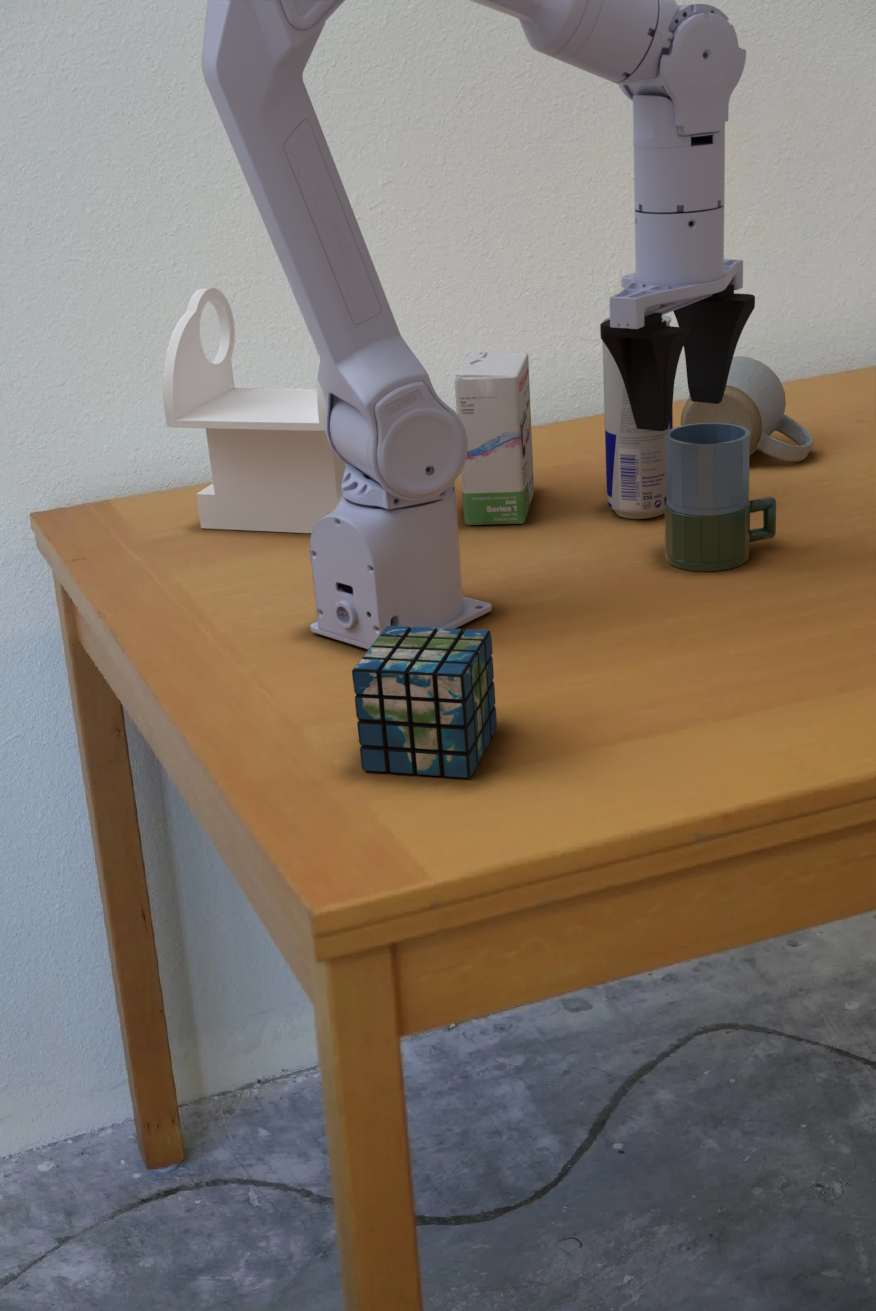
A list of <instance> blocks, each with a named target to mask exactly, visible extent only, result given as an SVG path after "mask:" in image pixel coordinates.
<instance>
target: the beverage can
mask: <svg viewBox="0 0 876 1311" xmlns="http://www.w3.org/2000/svg"><path fill="white" fill-rule="evenodd" d="M608 320H610V317H606V318H605V319H603V321H602V322H601V323H603V322H605V321H608ZM664 321H666V326H671V322H672V318H671V317H670V316H669V315H667V314H664V315H662V322H664ZM601 341H602V373H603V374H602V375H603V377H602V378H603V408H604V409H603V410H604V442H605V444H604V445H605V448H604V449H605V478H606V479H605V480H606V502H607V505H608V507H609V508H610V509H611V510H613V511H614V512H615V513H616V515H617V516H619V517H621V518H624V519H631V520H644V519H645V520H646V519H651V518H657V517H659V516H661V515H663V514H665V508H664V503H665V502H666V501H667V499H666V433H667V432H668V431H669V430H671V429H673V428H674V423H673V422H674V421H673V420H674V419H673V416H674V415H673V411H674V410H673V408H674V407H673V405H672V414H671V419H670V423H669V427H668V429H667V430H665V431H653V430H644V429H637V427H636V424H635V420H634V417H633V413H632V410H631V406H630V402H629V398H628V395H627V391H626V388H625V385H624V382H623V379H622V376H621V373H620V371H619V369H618V366H617V364H616V362H615V360H614V358H613V356H612V355H611V353H610V351H609V349H608V348H607V346H606V345H605V343H604V342H603V340H602V339H601Z"/></svg>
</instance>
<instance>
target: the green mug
mask: <svg viewBox="0 0 876 1311" xmlns="http://www.w3.org/2000/svg"><path fill="white" fill-rule="evenodd" d="M664 508H665V512H664V551H665V552H664V553H665V556H664V558H665V561H666V562H667V563H668V564H669V565H671V566H673V567H675V568H678V569H681V570H684V571H685V570H686V571H693V572H720V571H725V570H731V569H735V568H737V567H740V566H742V565H744V564H745V563H746V562H747V561H748V560H749V558H750V545H751V544H750V543H756V542H760V541H766V540H771V539H773V538H775V537H776V534H777V500H776V498H775V497H773V496H765V497H761V498H755V499H749V503H748V505H747V507H745V508H744V509H742V510H740V511H737V512H734V513H730V514H725V515H717V516H694V515H687V514H682V513H678V512H675V511H673V510H671V509H670V508H669V507H668V506H667V501H666V502H665V503H664ZM759 512H762V527H757V528H752V529H751V514H753V513H759Z"/></svg>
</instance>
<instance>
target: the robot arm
mask: <svg viewBox="0 0 876 1311" xmlns="http://www.w3.org/2000/svg"><path fill="white" fill-rule="evenodd" d="M345 1H346V0H206V10H205V20H204V30H203V37H202V38H203V39H202V49H201V64H200V66H201V70H202V74H203V80H204V83H205V84H206V87H207V89H208V92H209V94H210V97H211V99H212V101H213V104H214V106H215V108H216V111H217V114H218V115H219V116H218V117H219V119H220V120H221V123H222V126H223V128H224V130H225V133H226V135H227V137H228V138H227V139H228V140H229V142H230V145H231V147H232V150H233V152H234V155H235V157H236V159H237V161H238V165H239V166H240V168H241V171H242V174H243V176H244V178H245V181H246V183H247V185H248V188H249V190H250V193H251V195H252V197H253V201H254V202H255V205H256V207H257V210H258V213H259V214H260V217H261V219H262V222H263V224H264V227H265V229H266V231H267V234H268V236H269V238H270V241H271V243H272V246H273V249H274V251H275V253H276V255H277V257H278V261H279V262H280V265H281V268H282V270H283V272H284V274H285V277H286V279H287V281H288V284H289V287H290V289H291V292H292V294H293V296H294V299H295V301H296V304H297V306H298V309H299V310H300V313H301V317H302V318H303V321H304V323H305V326H306V327H307V329H308V332H309V335H310V337H311V340H312V342H313V344H314V347H315V349H316V352H317V355H318V357H319V360H320V364H319V363H318V367H319V369H317V379H318V381H319V384H320V386H321V389H322V391H323V394H324V398H325V405H326V410H325V433H326V437H327V440H328V443H329V445H330V447H331V448H332V450H333V452H334V453H335V454H336V455H337V456H338V457H339V458H340V459H341V460H343V461H344V462H345V465H346V469H345V473H344V476H343V480H342V485H341V486H342V495H343V496H342V498H341V500H340V502H339V504H338V506H337V507H336V508H335V509H334V510H333V511H332V512H331V513H330V514H328V515H327V516H325V517H323V518H322V519H321V520H319V521H318V522H317V523H316V525H315V526H314V528H313V531H312V533H310V539H309V555H310V556H309V557H310V565H311V573H312V574H311V575H312V581H313V582H312V583H313V591H314V600H315V609H316V616H317V621H315V622H313V623H310V626H309V628H310V632H311V633H313V634H317V635H320V636H322V637H323V636H324V637H327V638H331V639H333V640H336V641H339V642H343V643H346V644H349V645H353V646H355V647H359V648H362V649H365V650H367V651H368V650H369V648H370V647H371V646H372V645H373V643H374V642H375V641H376V639H377V638H378V637H379V636H380V634H381V633H382V632H383V631H384V629H385V628H386V627H387V626H405V627H411V629H412V628H413V627H429V628H437V631H438V629H439V628H452V629H458V628H459V627H462V626H463V625H466V624H468V623H470V622H472V621H474V620H475V619H478V618H481V617H482V616H483V615H486V614H488V613H490V612H491V611H492V610H493V608H492V607H493V606H492V603H490V602H488V601H483V600H480V599H476V598H473V597H468V596H465V595H464V594H463V592H464V591H463V580H462V578H463V577H462V566H461V565H462V564H461V550H460V536H459V524H458V522H459V521H458V506H457V494H456V493H457V492H456V481H457V479H459V476H461V471H462V469H463V467H464V464H465V461H466V457H467V451H468V439H467V434H466V430H465V428H464V425H463V423H462V421H461V419H460V418H459V416H458V415H457V412H456V411H455V410H454V409H453V408H451V406H449V405H448V404H446V402H444V401H443V400H442V399H441V397H440V396H439V395H438V393H437V392H436V390H435V388H434V386H433V383H432V381H431V379H430V376H429V373H428V371H427V370H426V369H425V367H424V365H422V363H421V361H420V360H419V359H418V357H417V356H416V354H415V353H414V352H413V351H412V350H411V348H410V347H409V345H408V344H407V342H406V341H405V339H404V338H403V336H402V335H401V333H400V329H399V327H398V325H397V322H396V319H395V316H394V313H393V311H392V308H391V307H390V303H389V301H388V299H387V295H386V294H385V290H384V288H383V285H382V282H381V280H380V278H379V275H378V271H377V269H376V266H375V264H374V262H373V260H372V256H371V254H370V251H369V249H368V246H367V244H366V241H365V238H364V236H363V233H362V230H361V228H360V225H359V222H358V220H357V218H356V214H355V212H354V209H353V208H352V204H351V202H350V200H349V197H348V194H347V192H346V189H345V186H344V184H343V181H342V179H341V176H340V173H339V171H338V170H339V169H338V168H337V165H336V163H335V160H334V158H333V156H332V152H331V150H330V147H329V145H328V142H327V139H326V137H325V134H324V132H323V129H322V126H321V124H320V121H319V118H318V116H317V112H316V110H315V108H314V106H313V102H312V101H311V98H310V94H309V93H308V90H307V88H306V85H305V83H304V78H303V77H304V71H305V69H306V66H307V64H308V62H309V60H310V58H311V55H312V54H313V51H314V49H315V47H316V45H317V42H318V40H319V38H320V36H321V33H322V32H323V29H324V27H325V25H326V22H327V20H328V19H329V18H330V17H331V16H332V15H333V14H334V13H335V12H336V11H337V10H338V9H339V8H340V7H341V5H342V4H343V3H344V2H345ZM469 2H473V3H475V4H478V5H481V6H484V7H486V8H489V9H492V10H494V11H496V12H500V13H502V14H505V15H508V16H510V17H513V18H516V19H518V21H519V23H520V26H521V28H522V30H523V33H524V36H525V38H526V40H527V42H528V44H529V46H530V47H531V48H532V50H534V51H536V52H538V53H540V54H543V55H545V56H547V57H550V58H552V59H556V60H557V61H560V62H563V63H565V64H567V65H570V66H573V67H575V68H577V69H580V70H582V71H584V72H587V73H589V74H592V75H594V76H596V77H599V78H602V79H604V80H607V81H609V82H611V83H614V84H616V85H618V87H619V89H620V90H621V92H622V93H623V94H624V95H625V96H626V97H627V98H628V99H629V100H631V101H632V136H633V138H632V139H633V141H632V142H633V184H634V185H633V194H634V198H633V199H634V203H633V204H634V210H633V211H634V249H635V250H634V258H635V259H634V263H635V265H634V267H635V269H634V270H635V272H631V273H629V274H626V275H623V276H621V277H620V279H621V280H620V284H621V285H620V286H621V288H623V289H622V290H620V291H619V292H618V293H616V294H614V295H611V296H610V297H609V318H610V320H608V321H605V322H603V321H602V322H603V323H602V322H601V323H600V324H599V328H600V330H599V332H600V339H601V341H602V340H603V342H604V343H605V345H606V346H607V348H608V349H609V351H610V353H611V355H612V356H613V358H614V360H615V362H616V364H617V366H618V369H619V371H620V373H621V376H622V379H623V382H624V385H625V388H626V391H627V395H628V398H629V402H630V406H631V410H632V413H633V417H634V420H635V424H636V427H637V429H644V430H653V431H665V430H667V429H668V427H669V423H670V419H671V414H672V405H673V404H674V403H673V402H674V393H675V391H674V390H675V381H676V374H677V370H678V366H679V361H680V358H681V355H682V352H683V350H684V359H685V371H686V380H687V388H688V395H689V394H690V397H691V401H693V402H703V403H713V404H718V403H720V402H722V399H723V395H724V392H725V388H726V384H727V380H728V375H729V371H730V367H731V363H732V359H733V357H734V355H735V352H736V348H737V346H738V342H739V340H740V338H741V335H742V332H743V330H744V328H745V326H746V324H747V322H748V320H749V318H750V317H751V315H752V313H753V311H754V310H755V307H756V296H755V295H754V294H751V293H737V292H736V293H735V291H738V290H741V289H743V287H744V260H743V259H735V258H733V259H732V258H725V190H726V189H725V184H726V183H725V182H726V181H725V180H726V178H725V177H726V176H725V175H726V174H725V173H726V172H725V170H726V168H725V167H726V166H725V165H726V161H725V160H726V155H725V154H726V122H729V104H730V99H731V96H732V94H733V92H734V90H735V88H736V87H737V86H738V84H739V82H740V80H741V78H742V75H743V73H744V69H745V65H746V61H747V50H746V49H745V48H742V47H740V45H739V40H738V35H737V32H736V30H735V27H734V25H733V24H731V23H730V22H729V20H730V19H729V17H728V15H726V14H725V13H724V12H723V11H722V10H721V9H719V8H718V7H715V6H714V5H711V4H708V3H692V4H677V2H676V0H469ZM672 312H673V315H674V316H675V319H676V323H677V326H671V325H670V326H666V321H664V322H662V315H667V314H669V313H672Z"/></svg>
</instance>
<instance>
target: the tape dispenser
mask: <svg viewBox="0 0 876 1311" xmlns="http://www.w3.org/2000/svg"><path fill="white" fill-rule="evenodd" d="M208 302H210V303H211V305H212V306H213V307H214V309H215V311H216V314H217V318H218V321H219V322H218V323H219V329H220V330H219V331H220V336H219V337H220V338H219V346H218V351H217V353H216V356H215V358H214V359H213V360H212V361H211V360H210V359H208V356H206V354H205V352H204V348H203V344H202V341H201V319H202V313H203V311H204V308H205V307H206V304H208ZM235 331H236V330H235V320H234V316H233V310H232V308H231V305H230V302H229V300H228V298H227V297H226V295H225V293H223V292H222V291H221V290H220V289H218V288H215V287H202V288H199V289H197V290H195V292H194V293H193V294H192V295H191V298H190V299H189V301H188V304H187V307H186V311H185V312H184V313H183V315H182V316H181V317H180V319H179V320H178V322H176V324H175V327H174V329H173V331H172V333H171V336H170V339H169V342H168V345H167V350H166V353H165V358H164V366H163V376H162V397H163V398H162V399H163V410H164V416H165V423H166V428H174V429H175V428H176V429H178V428H179V429H182V428H183V429H184V428H185V429H205V434H206V442H207V447H208V455H209V456H208V457H209V462H210V471H211V477H212V483H211V484H209V485H207V486H206V487H204V488H203V489H202V490H200V491H198V492H197V493H196V496H195V497H196V503H197V511H198V517H199V524H200V529H208V530H209V529H211V530H230V531H231V530H232V531H253V532H254V531H256V532H274V533H275V532H277V533H296V534H297V533H298V534H300V533H301V534H312V531H313V528H314V526H315V525H316V523H317V522H318V521H319V520H321V519H322V518H323V517H325V516H327V515H328V514H330V513H331V512H332V511H333V510H334V509H335V508H336V507H337V506H338V504H339V502H340V500H341V498H342V496H343V495H342V486H341V485H342V480H343V476H344V473H345V469H346V465H345V462H344V461H343V460H341V459H340V458H339V457H338V456H337V455H336V454H335V453H334V452H333V450H332V448H331V447H330V445H329V443H328V440H327V437H326V433H325V410H326V405H325V398H324V394H323V391H322V389H321V386H320V384H319V381H318V378H317V381H316V382H317V383H316V388H264V387H263V388H260V387H259V388H257V387H256V388H255V387H235V381H234V373H233V366H232V357H233V354H234V349H235V348H234V347H235V338H236V332H235ZM319 364H320V359H319V361H318V365H319ZM318 369H319V366H318ZM318 369H317V370H318Z"/></svg>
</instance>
